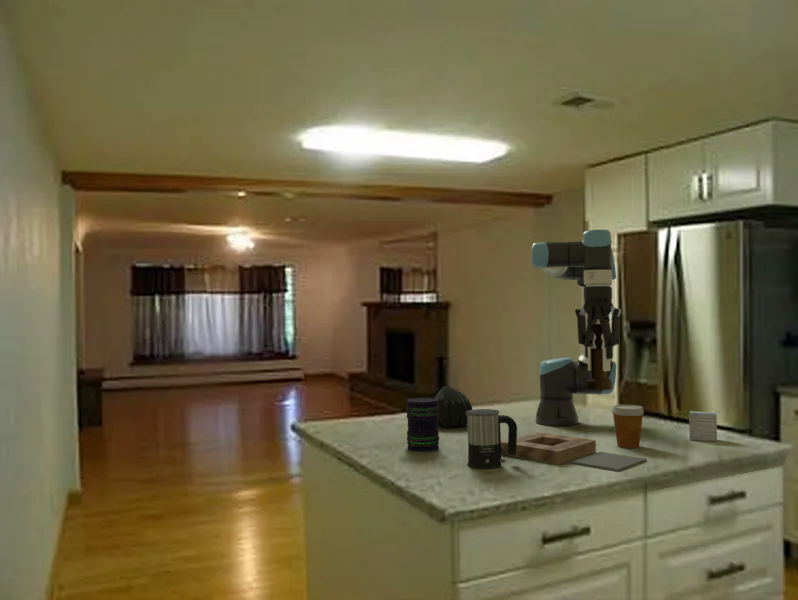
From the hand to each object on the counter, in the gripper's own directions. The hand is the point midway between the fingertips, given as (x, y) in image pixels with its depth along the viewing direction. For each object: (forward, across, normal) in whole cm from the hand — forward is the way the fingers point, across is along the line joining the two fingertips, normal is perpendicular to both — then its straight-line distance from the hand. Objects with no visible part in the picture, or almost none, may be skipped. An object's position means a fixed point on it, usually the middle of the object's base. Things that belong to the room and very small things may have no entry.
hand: (599, 370), depth 196 cm
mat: (+25, +2, 0) cm, 25 cm away
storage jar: (+25, -48, -20) cm, 58 cm away
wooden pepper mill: (+5, 0, 0) cm, 5 cm away
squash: (+25, -68, +14) cm, 74 cm away
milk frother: (+25, -23, -22) cm, 41 cm away
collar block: (+25, -17, -1) cm, 30 cm away
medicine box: (+25, +8, +48) cm, 55 cm away
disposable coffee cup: (+25, -4, +23) cm, 35 cm away
